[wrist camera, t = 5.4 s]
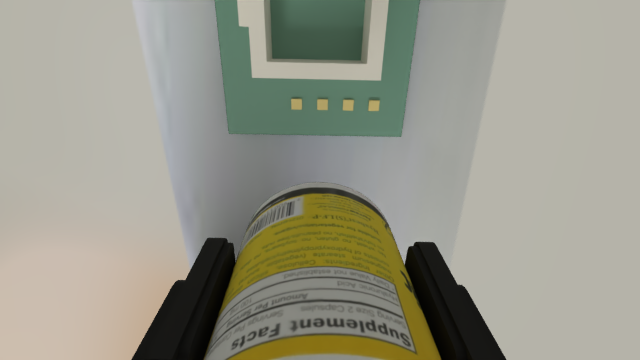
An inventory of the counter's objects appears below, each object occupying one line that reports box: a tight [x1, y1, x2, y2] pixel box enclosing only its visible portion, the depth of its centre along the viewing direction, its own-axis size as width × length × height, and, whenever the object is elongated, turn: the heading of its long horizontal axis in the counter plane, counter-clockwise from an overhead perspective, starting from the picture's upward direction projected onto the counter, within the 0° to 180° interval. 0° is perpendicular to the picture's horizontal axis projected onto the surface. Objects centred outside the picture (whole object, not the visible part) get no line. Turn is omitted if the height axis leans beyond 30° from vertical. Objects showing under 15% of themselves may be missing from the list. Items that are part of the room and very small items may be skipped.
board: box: [215, 0, 420, 137], centre depth 21 cm, size 16×14×4 cm
